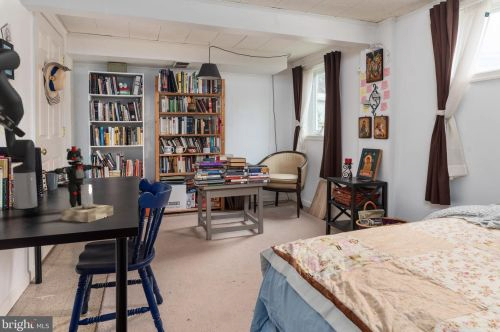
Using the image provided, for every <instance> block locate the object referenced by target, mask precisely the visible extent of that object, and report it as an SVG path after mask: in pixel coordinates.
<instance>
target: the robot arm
mask: <svg viewBox="0 0 500 332" xmlns="http://www.w3.org/2000/svg"><path fill="white" fill-rule="evenodd" d="M20 65H21V57H20V55H19V53H18V52H17V51H16V50H13V49H12V48H5V47H0V126H2V127H3V129H4V138H5V146H6V152H7V155H8V157H9V158H10V159H15V160H16V159H17V160H19V159H21V160H22V159H24V162H22V163H21V164H18V165H15V166H13V167H12V181H13V182H12V183H13V188H12V197H13V198H12V200H13V208H15V209H17V210H18V209H19V210H21V209H22V210H23V209H32V208H36V207H38V193H37V178H36V177H37V175H36V146H35V143H34V141H33V140H32V139H17V138H16V136H17V137H18V138H23V137H24V136H26V132H25V131H23V130H22V129H21V128H20V127H19V125H20V123H21V121H22V119H23V118H24V115H25V109H24V103H23V100H22V97H21V96H20V94H19V93H18V91H17V90H16V89H15V88H14V86H13V85H12V84H11V83H10V81H9V79H8V76H7V72H6V71H14V70H15V71H16V70H17V69H18V68H19V67H20Z"/></svg>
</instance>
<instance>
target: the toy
mask: <svg viewBox="0 0 500 332" xmlns="http://www.w3.org/2000/svg"><path fill="white" fill-rule="evenodd" d="M81 152H82V150H81V148H80V147H79V148H77V146H75V145H74V146H73V145H72V146H71V149H70V148H67V149H66V153H67V155H66V160H67V164H68V165H69V166H63V167H57V168H55V169H54V170H53V169H52V170H48V171H44V172H43V173H44V174H55V175H61V174H62V175H63V174H64V175H66V179H67V191H68V193H69V195H68V196H69V197H68V198H69V204H70V205H69V206H70V208H73V207H78V206H82V204H81V185H82V184H84V179H85V173H84V172H86V171H91V170H97V171H102V170H103V166H102V165H94V164H84V162H82V161H84V157H83V156H82V153H81Z"/></svg>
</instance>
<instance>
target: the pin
mask: <svg viewBox="0 0 500 332" xmlns="http://www.w3.org/2000/svg"><path fill="white" fill-rule="evenodd" d="M93 192H94V191H93V184H92V183H83V184H82V185H81V204H82V209H83V210H89V209H93V204H94V195H93V194H94V193H93Z"/></svg>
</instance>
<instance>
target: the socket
mask: <svg viewBox="0 0 500 332" xmlns="http://www.w3.org/2000/svg"><path fill="white" fill-rule="evenodd" d="M77 206H78V207H77ZM77 206H75V207H73V208H71V207H69V208H66V209H62V210H61V221H68V222H81V223H92V222H95V221H98V220H101V219H105V218H107V216H108V217H111V216H114V205H107V204H105V205H104V204H94V203H93V209H89V210H83V209H82V206H79V205H77ZM104 217H105V218H104Z"/></svg>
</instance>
